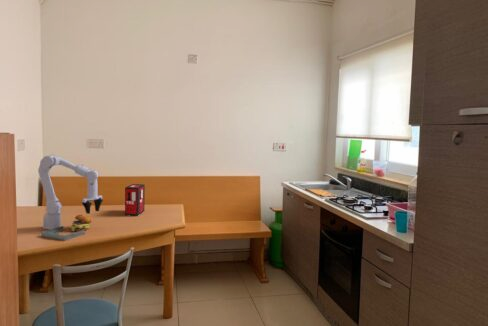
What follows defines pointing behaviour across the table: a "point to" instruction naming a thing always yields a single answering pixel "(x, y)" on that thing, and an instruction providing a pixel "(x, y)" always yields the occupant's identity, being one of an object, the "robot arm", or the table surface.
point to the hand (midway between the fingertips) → (92, 212)
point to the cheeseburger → (81, 223)
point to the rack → (54, 235)
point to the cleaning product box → (134, 199)
